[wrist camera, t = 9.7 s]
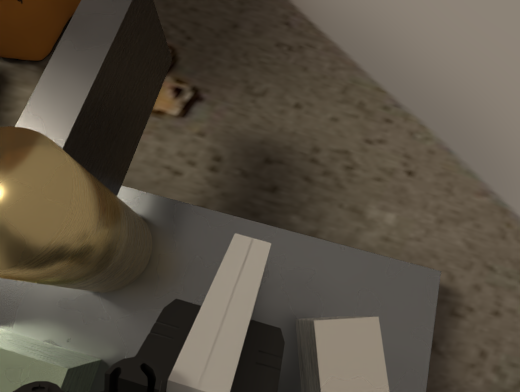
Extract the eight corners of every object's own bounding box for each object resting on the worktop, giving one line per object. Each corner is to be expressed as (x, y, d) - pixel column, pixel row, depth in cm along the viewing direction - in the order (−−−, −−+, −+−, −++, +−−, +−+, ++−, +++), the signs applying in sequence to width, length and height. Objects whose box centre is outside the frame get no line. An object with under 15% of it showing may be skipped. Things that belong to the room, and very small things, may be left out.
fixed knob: (49, 279, 17) (-117, 249, 9) (134, 84, 20) (60, -58, 12) (133, 303, 17) (32, 293, 9) (205, 102, 20) (175, -32, 12)
